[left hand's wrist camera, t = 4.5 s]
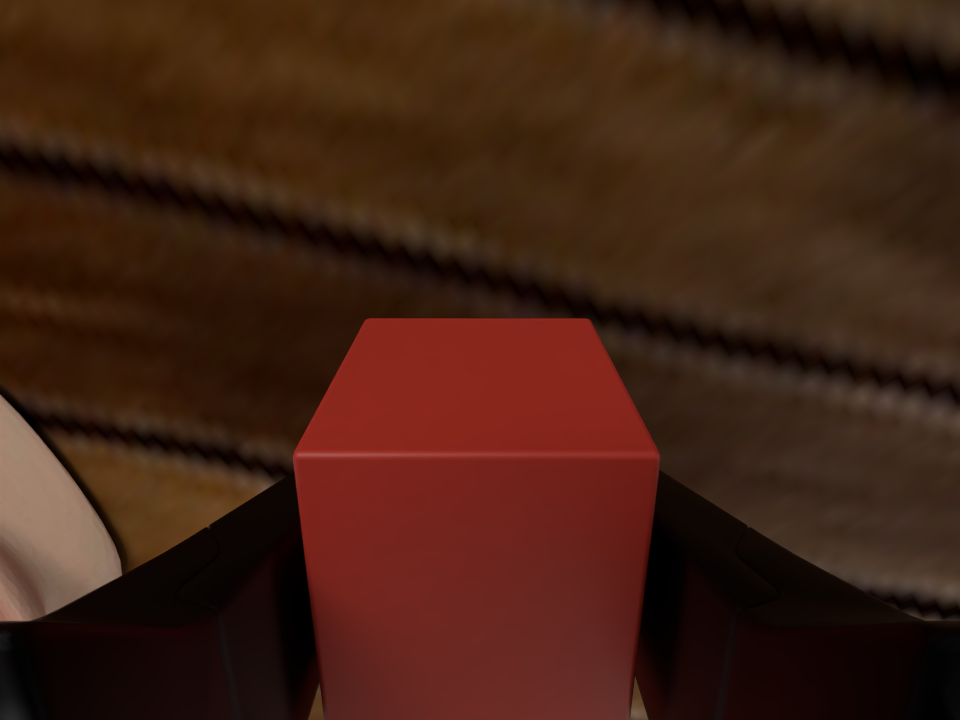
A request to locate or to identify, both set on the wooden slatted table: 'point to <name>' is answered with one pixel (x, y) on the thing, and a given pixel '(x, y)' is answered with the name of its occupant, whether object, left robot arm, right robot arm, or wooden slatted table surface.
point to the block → (476, 523)
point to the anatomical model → (45, 528)
